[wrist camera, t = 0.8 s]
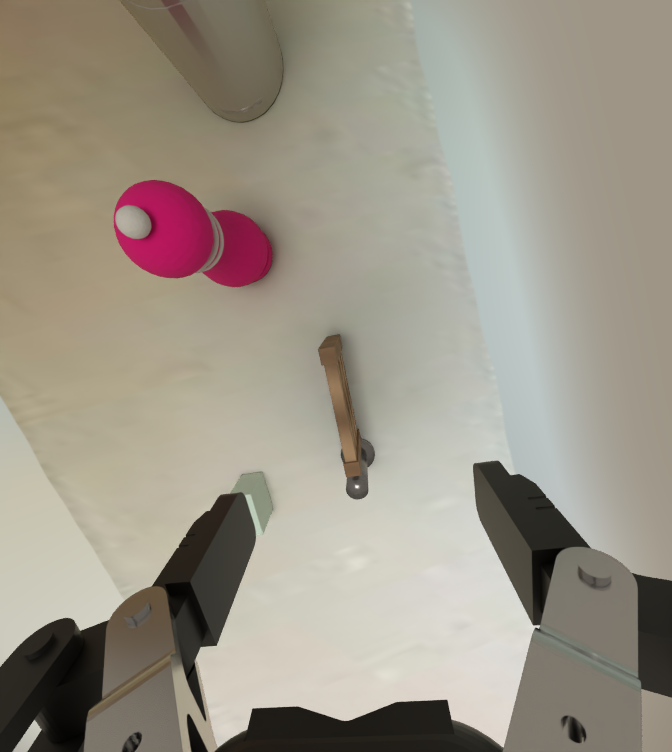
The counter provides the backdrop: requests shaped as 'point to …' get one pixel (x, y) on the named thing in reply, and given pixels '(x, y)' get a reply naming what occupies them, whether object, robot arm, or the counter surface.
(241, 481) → the block
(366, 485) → the hinge post
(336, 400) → the gate
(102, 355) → the counter surface
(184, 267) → the pepper mill
